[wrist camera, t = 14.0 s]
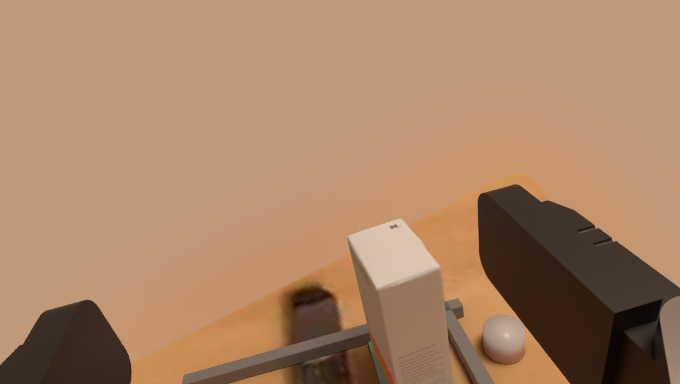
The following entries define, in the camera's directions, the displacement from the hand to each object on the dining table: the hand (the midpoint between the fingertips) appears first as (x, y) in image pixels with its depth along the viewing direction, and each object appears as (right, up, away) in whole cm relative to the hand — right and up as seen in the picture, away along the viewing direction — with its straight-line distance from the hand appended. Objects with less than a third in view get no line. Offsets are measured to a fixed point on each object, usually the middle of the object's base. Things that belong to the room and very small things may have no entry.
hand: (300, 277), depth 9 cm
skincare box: (+6, -12, +24) cm, 27 cm away
